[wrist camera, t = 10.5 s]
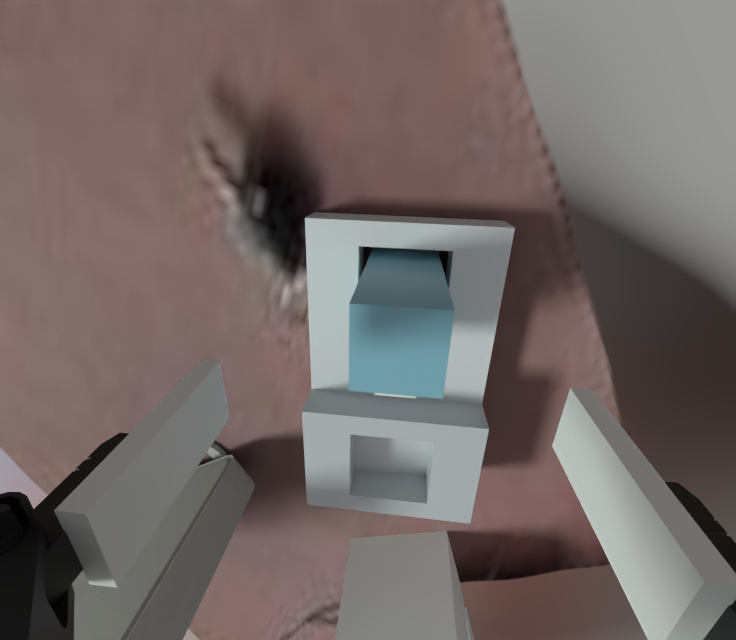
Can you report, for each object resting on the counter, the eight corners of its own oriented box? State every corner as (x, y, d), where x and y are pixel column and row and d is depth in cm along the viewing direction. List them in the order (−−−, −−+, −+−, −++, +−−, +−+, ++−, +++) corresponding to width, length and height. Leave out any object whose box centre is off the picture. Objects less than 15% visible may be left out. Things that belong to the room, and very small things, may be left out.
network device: (233, 421, 37) (64, 673, 19) (280, 481, 40) (170, 752, 22) (68, 488, 44) (-172, 718, 26) (117, 535, 47) (-69, 773, 29)
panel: (315, 212, 28) (292, 225, 23) (504, 220, 27) (528, 236, 21) (322, 454, 38) (306, 504, 32) (461, 468, 36) (469, 523, 31)
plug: (373, 248, 29) (349, 303, 18) (438, 251, 28) (454, 310, 17) (370, 320, 31) (348, 408, 20) (430, 325, 31) (440, 417, 20)
